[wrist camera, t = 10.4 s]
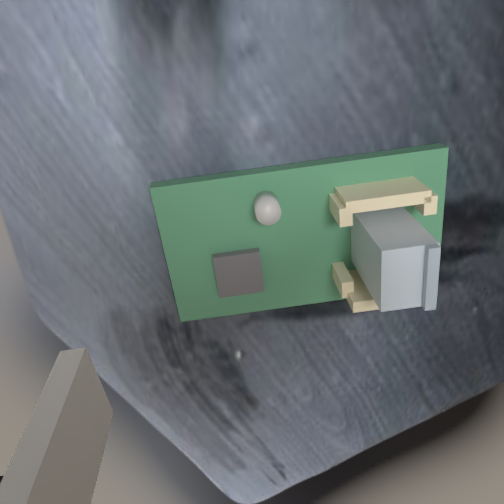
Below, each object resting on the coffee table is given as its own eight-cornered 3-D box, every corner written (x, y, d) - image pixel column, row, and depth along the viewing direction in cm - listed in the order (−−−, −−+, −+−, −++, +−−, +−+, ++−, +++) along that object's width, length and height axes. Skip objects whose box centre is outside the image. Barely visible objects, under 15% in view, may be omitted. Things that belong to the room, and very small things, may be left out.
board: (151, 182, 37) (139, 211, 31) (440, 142, 37) (481, 164, 32) (181, 312, 43) (176, 357, 37) (430, 278, 43) (464, 317, 37)
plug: (350, 208, 38) (384, 255, 30) (397, 201, 38) (443, 246, 30) (351, 260, 40) (383, 316, 32) (396, 254, 40) (438, 308, 32)
